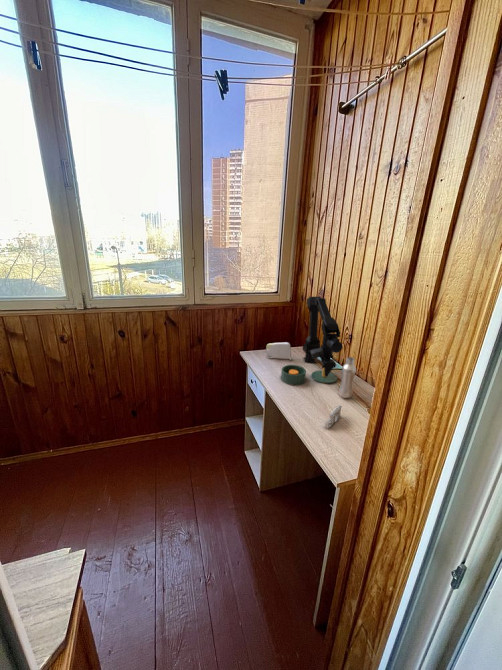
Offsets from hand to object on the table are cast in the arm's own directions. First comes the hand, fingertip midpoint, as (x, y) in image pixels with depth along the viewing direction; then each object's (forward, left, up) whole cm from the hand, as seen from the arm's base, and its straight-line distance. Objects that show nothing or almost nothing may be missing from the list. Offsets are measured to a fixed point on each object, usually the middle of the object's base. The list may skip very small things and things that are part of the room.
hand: (324, 371), depth 158 cm
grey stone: (+39, -3, -4) cm, 39 cm away
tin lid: (0, 0, -3) cm, 3 cm away
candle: (+3, -17, -3) cm, 17 cm away
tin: (+3, -17, -4) cm, 18 cm away
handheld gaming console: (-23, -24, -4) cm, 33 cm away
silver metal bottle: (+18, +7, -4) cm, 20 cm away
